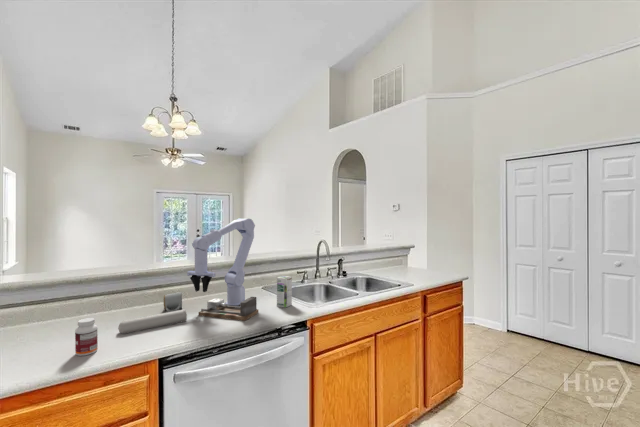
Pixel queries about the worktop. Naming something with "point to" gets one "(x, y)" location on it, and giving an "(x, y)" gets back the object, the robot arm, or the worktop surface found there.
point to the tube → (152, 321)
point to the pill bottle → (86, 337)
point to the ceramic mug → (173, 301)
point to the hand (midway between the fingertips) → (201, 291)
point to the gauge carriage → (216, 304)
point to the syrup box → (284, 291)
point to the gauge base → (234, 311)
